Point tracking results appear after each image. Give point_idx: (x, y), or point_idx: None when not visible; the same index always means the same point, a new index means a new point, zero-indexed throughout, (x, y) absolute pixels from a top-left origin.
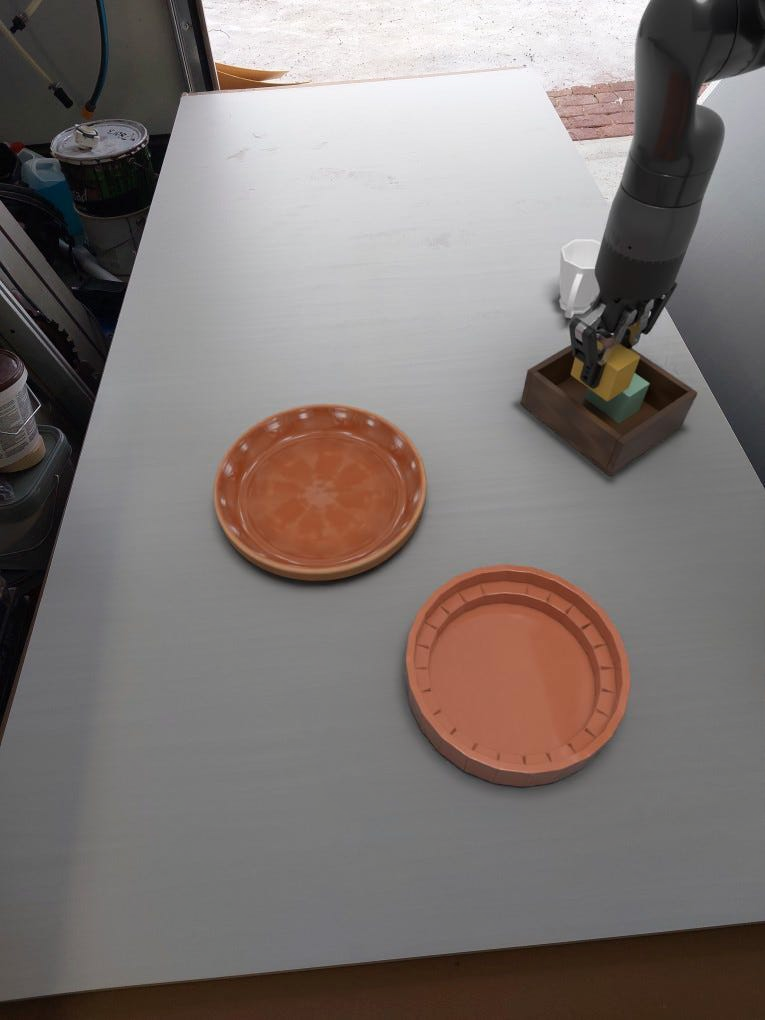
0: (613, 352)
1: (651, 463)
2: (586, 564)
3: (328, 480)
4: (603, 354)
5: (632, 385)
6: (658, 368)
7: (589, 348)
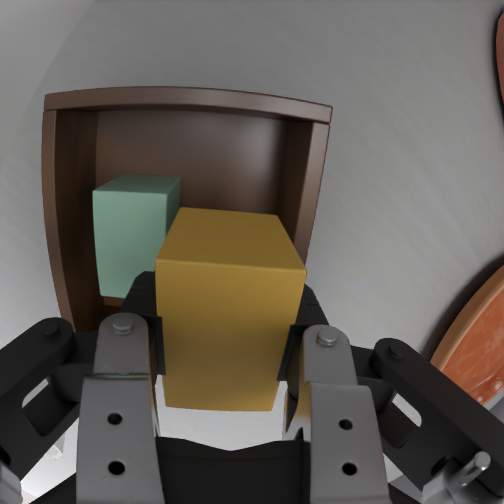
0: (223, 339)
1: (214, 74)
2: (449, 69)
3: (484, 348)
4: (353, 367)
5: (128, 214)
6: (49, 208)
7: (488, 414)
